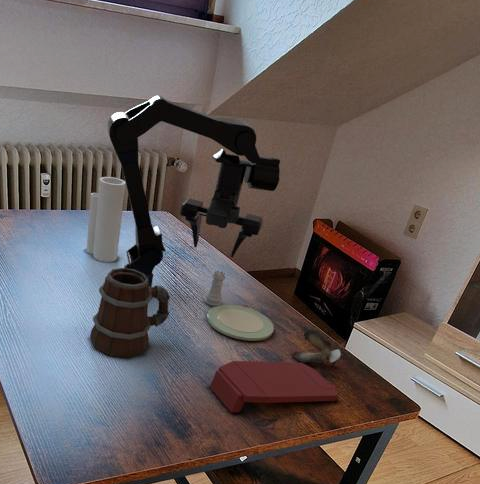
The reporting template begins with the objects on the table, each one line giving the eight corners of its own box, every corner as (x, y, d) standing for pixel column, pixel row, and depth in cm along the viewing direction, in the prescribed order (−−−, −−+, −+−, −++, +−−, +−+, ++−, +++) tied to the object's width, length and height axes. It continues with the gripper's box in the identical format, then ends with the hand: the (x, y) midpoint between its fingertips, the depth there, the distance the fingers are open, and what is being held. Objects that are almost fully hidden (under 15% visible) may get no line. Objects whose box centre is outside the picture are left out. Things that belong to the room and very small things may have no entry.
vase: (121, 261, 146) (130, 185, 134) (97, 262, 143) (104, 184, 131) (104, 244, 153) (111, 171, 141) (80, 246, 150) (86, 170, 138)
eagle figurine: (335, 351, 122) (299, 335, 122) (351, 337, 115) (313, 320, 115) (326, 379, 119) (290, 363, 119) (342, 367, 113) (303, 350, 112)
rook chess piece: (202, 297, 136) (209, 268, 131) (219, 299, 137) (227, 270, 132) (205, 305, 132) (212, 275, 128) (222, 307, 133) (230, 277, 128)
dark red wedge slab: (296, 381, 118) (204, 381, 105) (306, 362, 115) (213, 360, 102) (331, 414, 110) (236, 419, 97) (343, 395, 107) (247, 397, 94)
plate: (231, 346, 118) (233, 341, 117) (193, 312, 129) (195, 307, 128) (286, 337, 126) (287, 332, 125) (246, 306, 136) (247, 301, 135)
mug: (99, 359, 106) (106, 290, 97) (85, 329, 114) (91, 262, 105) (172, 356, 111) (186, 289, 102) (154, 327, 120) (165, 263, 111)
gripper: (180, 182, 115) (168, 252, 124) (264, 203, 112) (245, 273, 122) (192, 172, 123) (180, 238, 133) (271, 192, 121) (252, 258, 130)
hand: (213, 252), depth 129 cm, fingers open, 9 cm apart
